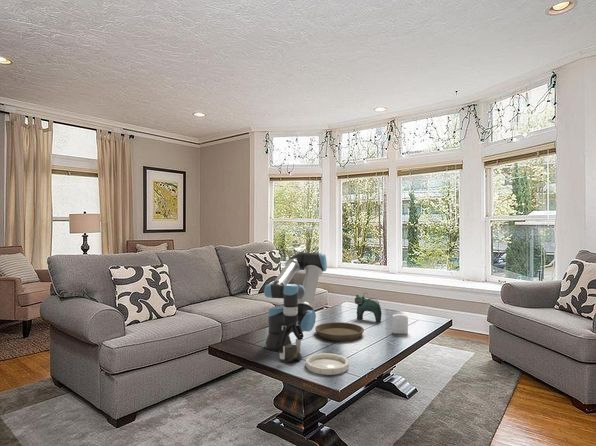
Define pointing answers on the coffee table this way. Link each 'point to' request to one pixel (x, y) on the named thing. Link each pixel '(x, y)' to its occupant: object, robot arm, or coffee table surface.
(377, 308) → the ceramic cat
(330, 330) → the plant saucer
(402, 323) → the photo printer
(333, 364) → the round tray
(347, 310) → the coffee table surface
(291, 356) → the fossil
